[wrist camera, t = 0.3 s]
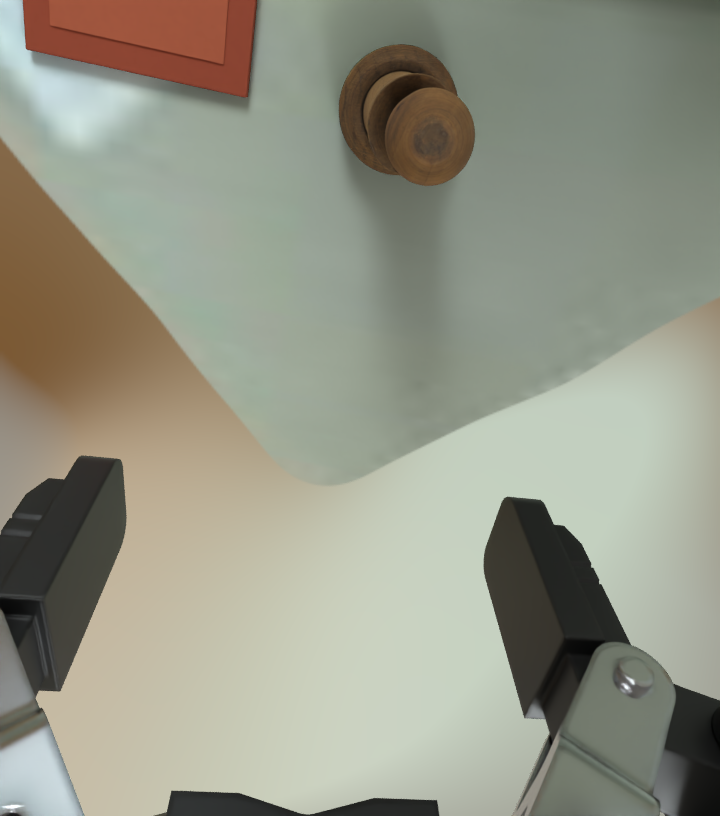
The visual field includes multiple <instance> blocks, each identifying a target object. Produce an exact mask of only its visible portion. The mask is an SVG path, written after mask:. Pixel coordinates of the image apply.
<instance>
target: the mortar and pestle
mask: <svg viewBox="0 0 720 816" xmlns="http://www.w3.org/2000/svg"><path fill="white" fill-rule="evenodd" d="M339 118H340V125H341V129H342V132H343V135H344V138H345V140H346V142H347V144H348V146H349V147H350V149H351V150H352V151H353V153H354V154H355V155H356V156H357V157H358V158H359V159H360V160H361V161H362V162H363V163H365V164H366V165H367V166H369V167H371V168H372V169H374V170H376V171H379V172H382V173H385V174H390V175H401V176H402V177H404V178H405V179H407V180H408V181H410V182H412V183H415V184H419V185H424V186H432V185H438V184H442V183H444V182H446V181H448V180H450V179H452V178H453V177H455V176H456V175H457V174H458V173H459V172H460V171H461V170H462V169H463V168H464V167H465V165H466V164H467V162H468V160H469V158H470V156H471V154H472V151H473V147H474V141H475V129H474V123H473V119H472V116H471V114H470V112H469V110H468V108H467V107H466V105H465V104H464V103H463V102H462V100H461V99H460V98H458V97H457V91H456V88H455V85H454V82H453V80H452V78H451V76H450V74H449V72H448V71H447V69H446V68H445V66H444V65H443V64H442V63H441V62H440V61H439V60H438V59H437V58H436V57H435V56H433V55H432V54H431V53H429V52H427V51H425V50H423V49H421V48H419V47H415V46H411V45H402V44H400V45H391V46H386V47H382V48H380V49H377V50H375V51H373V52H371V53H369V54H368V55H366V56H365V57H364V58H362V59H361V60H360V61H359V62H358V63H357V64H356V65H355V66H354V68H353V69H352V70H351V72H350V73H349V75H348V76H347V78H346V80H345V82H344V85H343V88H342V91H341V95H340V100H339Z"/></svg>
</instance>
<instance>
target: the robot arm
mask: <svg viewBox="0 0 720 816" xmlns="http://www.w3.org/2000/svg"><path fill="white" fill-rule="evenodd" d="M125 528H126V505H125V490H124V477H123V466H122V462H121V460H120V459H114V458H104V457H93V456H80V457H79V458H78V459H77V460H76V462H75V463H74V465H73V466H72V468H71V470H70V471H69V473H68V475H67V476H66V478H65V479H64V480H63V479H52V478H49V479H47V480H46V481H44V482H43V483H41V484H40V485H38V486H37V487H36V488H34V489H33V490H31V491H30V492H29V493H27V494H26V495H25V497H24V498H23V499H22V501H21V502H20V504H19V505H18V507H17V508H16V510H15V511H14V513H13V514H12V518H10V519H9V520H8V521H7V523H6V524H5V526H4V527H3V529H2V530H1V535H0V816H84V813H83V811H82V808H81V805H80V803H79V800H78V798H77V795H76V793H75V790H74V787H73V785H72V782H71V779H70V777H69V774H68V771H67V769H66V766H65V763H64V761H63V758H62V756H61V753H60V750H59V748H58V745H57V743H56V740H55V737H54V735H53V732H52V730H51V727H50V724H49V722H48V719H47V717H46V715H45V712H44V711H43V709H42V708H39V706H38V703H37V701H36V699H35V698H36V695H37V693H38V691H39V690H42V691H61V688H62V686H63V684H64V681H65V679H66V676H67V674H68V672H69V669H70V667H71V665H72V662H73V660H74V657H75V655H76V653H77V650H78V648H79V645H80V643H81V641H82V638H83V636H84V634H85V631H86V629H87V627H88V624H89V622H90V619H91V617H92V615H93V612H94V610H95V607H96V605H97V603H98V600H99V598H100V596H101V593H102V591H103V588H104V586H105V584H106V581H107V579H108V577H109V574H110V572H111V570H112V567H113V565H114V562H115V560H116V558H117V555H118V553H119V551H120V548H121V545H122V542H123V538H124V534H125ZM484 574H485V579H486V582H487V586H488V589H489V593H490V597H491V600H492V604H493V607H494V611H495V614H496V618H497V622H498V625H499V629H500V632H501V636H502V639H503V643H504V646H505V650H506V653H507V657H508V661H509V664H510V668H511V671H512V675H513V679H514V682H515V686H516V690H517V693H518V697H519V700H520V704H521V707H522V711H523V715H524V718H532V719H546V722H547V725H548V729H549V732H550V733H549V735H548V737H547V738H546V740H545V742H544V744H543V747H542V749H541V751H540V753H539V756H538V758H537V760H536V763H535V765H534V767H533V769H532V772H531V774H530V776H529V779H528V781H527V783H526V785H525V787H524V790H523V792H522V794H521V797H520V799H519V801H518V804H517V806H516V808H515V810H514V812H513V815H512V816H659V815H660V812H662V813H664V814H665V816H720V701H719V700H717V699H714V698H710V697H708V696H705V695H702V694H700V693H697V692H694V691H691V690H688V689H685V688H683V687H680V686H678V685H675V684H673V682H672V680H671V678H670V677H669V675H668V673H667V672H666V671H665V669H664V668H663V667H662V666H661V665H660V664H659V663H658V662H657V661H656V660H655V659H654V658H653V657H651V656H650V655H649V654H647V653H646V652H644V651H642V650H641V649H638V648H637V647H634V646H632V645H631V644H630V642H629V640H628V638H627V636H626V634H625V632H624V630H623V628H622V626H621V624H620V622H619V620H618V617H617V615H616V613H615V611H614V609H613V607H612V605H611V603H610V601H609V599H608V597H607V595H606V593H605V591H604V589H603V587H602V585H601V584H599V579H598V577H597V575H596V573H595V571H594V568H591V562H590V560H589V558H588V556H587V554H586V552H585V550H584V548H583V546H582V544H581V543H580V542H579V541H578V540H577V539H576V538H575V537H574V536H573V535H572V534H571V533H570V532H569V531H568V530H567V529H566V528H565V526H561V525H554V524H553V522H552V519H551V517H550V515H549V513H548V511H547V508H546V507H545V504H544V503H543V502H542V501H541V500H536V499H526V498H515V497H506V498H504V500H503V501H502V503H501V506H500V509H499V512H498V515H497V517H496V520H495V523H494V526H493V529H492V531H491V534H490V537H489V540H488V542H487V545H486V549H485V554H484ZM155 816H439V811H438V804H437V800H411V799H383V798H382V799H381V798H373V799H369V800H366V801H361V802H358V803H354V804H350V805H346V806H342V807H338V808H335V809H331V810H327V811H323V812H319V813H315V814H310V815H306V814H300V813H297V812H294V811H291V810H288V809H285V808H282V807H279V806H276V805H273V804H270V803H267V802H264V801H261V800H258V799H255V798H252V797H249V796H246V795H243V794H240V793H221V792H220V793H219V792H193V791H171V796H170V800H169V805H168V809H167V812H166V813H162V814H159V815H155Z"/></svg>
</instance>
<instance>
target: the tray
mask: <svg viewBox="0 0 720 816" xmlns="http://www.w3.org/2000/svg"><path fill="white" fill-rule="evenodd" d="M256 8H257V0H23V9H24V25H25V41H26V49H27V50H31V51H36V52H40V53H45V54H49V55H54V56H59V57H63V58H68V59H72V60H77V61H81V62H86V63H90V64H95V65H100V66H104V67H109V68H113V69H118V70H122V71H127V72H131V73H136V74H141V75H145V76H150V77H154V78H159V79H163V80H168V81H172V82H177V83H182V84H186V85H191V86H195V87H200V88H204V89H209V90H213V91H218V92H222V93H227V94H232V95H236V96H241V97H245V98H246V97H248V92H249V81H250V71H251V60H252V50H253V39H254V29H255V19H256Z"/></svg>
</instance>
